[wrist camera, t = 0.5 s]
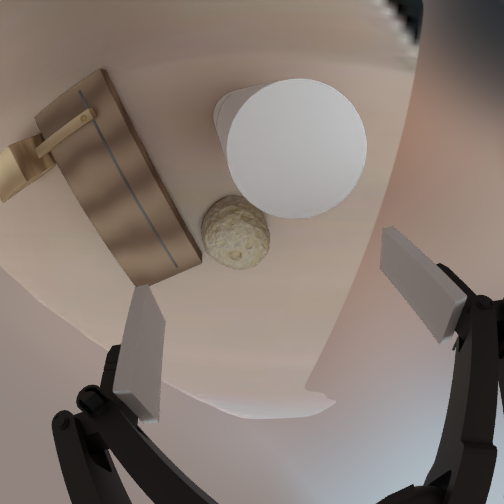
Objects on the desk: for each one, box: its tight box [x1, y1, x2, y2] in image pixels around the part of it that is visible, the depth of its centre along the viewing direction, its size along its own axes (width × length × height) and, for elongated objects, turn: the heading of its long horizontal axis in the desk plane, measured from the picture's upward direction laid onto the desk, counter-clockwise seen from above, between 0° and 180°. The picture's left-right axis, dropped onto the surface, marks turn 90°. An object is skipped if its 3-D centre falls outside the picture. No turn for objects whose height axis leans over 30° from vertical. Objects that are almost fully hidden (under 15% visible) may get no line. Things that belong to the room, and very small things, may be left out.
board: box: [34, 69, 202, 287], centre depth 35 cm, size 30×11×3 cm, turn 22°
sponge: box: [201, 196, 270, 270], centre depth 40 cm, size 9×10×10 cm
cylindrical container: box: [213, 79, 367, 219], centre depth 24 cm, size 7×7×25 cm
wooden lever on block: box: [0, 108, 97, 203], centre depth 27 cm, size 5×14×10 cm, turn 112°
